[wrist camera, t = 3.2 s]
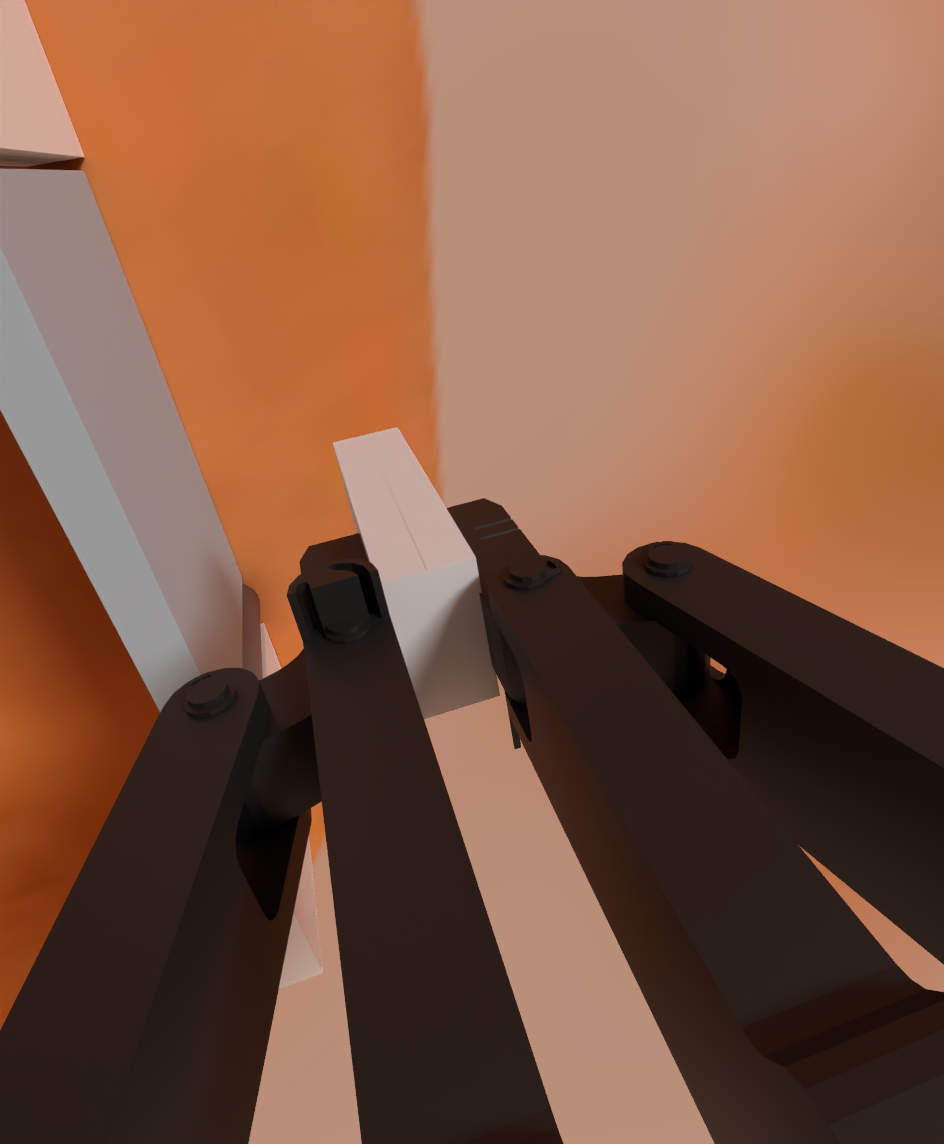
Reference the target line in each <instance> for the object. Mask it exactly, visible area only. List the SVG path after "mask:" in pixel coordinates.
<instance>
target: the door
mask: <svg viewBox="0 0 944 1144" xmlns="http://www.w3.org/2000/svg"><path fill="white" fill-rule="evenodd" d="M0 410H1V412H2V414H3V416H4V418H5V420H6V422H7V424H8V426H9V427H10V429H11V431H12V433H13V435H14V437H15V439H16V441H17V443H18V445H19V446H20V448H21V450H22V452H23V454H24V456H25V458H26V460H27V462H28V463H29V465H30V467H31V469H32V471H33V473H34V475H35V477H36V479H37V480H38V482H39V484H40V486H41V488H42V490H43V492H44V494H45V496H46V497H47V499H48V501H49V503H50V505H51V507H52V509H53V511H54V513H55V514H56V516H57V518H58V520H59V522H60V524H61V526H62V528H63V530H64V532H65V533H66V535H67V537H68V539H69V541H70V543H71V545H72V547H73V549H74V550H75V552H76V554H77V556H78V558H79V560H80V562H81V564H82V566H83V567H84V569H85V571H86V573H87V575H88V577H89V579H90V581H91V583H92V584H93V586H94V588H95V590H96V592H97V594H98V596H99V598H100V600H101V602H102V603H103V605H104V607H105V609H106V611H107V613H108V615H109V617H110V619H111V620H112V622H113V624H114V626H115V628H116V630H117V632H118V634H119V636H120V637H121V639H122V641H123V643H124V645H125V647H126V649H127V651H128V653H129V654H130V656H131V658H132V660H133V662H134V664H135V666H136V668H137V670H138V671H139V673H140V675H141V677H142V679H143V681H144V683H145V685H146V687H147V689H148V690H149V692H150V694H151V696H152V698H153V700H154V702H155V704H156V706H157V707H158V709H159V711H160V712H161V710H162V708H163V707H164V705H165V704H166V702H167V701H168V700H169V698H170V697H171V696H172V694H173V693H174V692H175V691H177V690H178V689H179V688H181V687H182V686H183V685H184V684H186V683H187V682H188V681H190V680H192V679H194V678H196V677H197V676H200V675H202V674H204V673H207V672H211V671H215V670H218V669H222V668H243V669H245V670H248V671H251V672H253V673H254V675H255V676H256V677H257V678H258V680H261V679H263V674H262V651H261V629H260V606H259V598H258V596H257V594H256V592H255V591H254V590H253V589H252V588H250V587H248V586H246V585H244V584H242V576H241V574H240V571H239V568H238V566H237V563H236V561H235V558H234V556H233V553H232V550H231V548H230V545H229V543H228V540H227V538H226V535H225V532H224V530H223V527H222V525H221V522H220V519H219V517H218V514H217V512H216V509H215V507H214V504H213V501H212V499H211V496H210V494H209V491H208V489H207V486H206V483H205V481H204V478H203V476H202V473H201V471H200V468H199V465H198V463H197V460H196V458H195V455H194V453H193V450H192V447H191V445H190V442H189V440H188V437H187V435H186V432H185V429H184V427H183V424H182V422H181V419H180V417H179V414H178V411H177V409H176V406H175V404H174V401H173V399H172V396H171V393H170V391H169V388H168V386H167V383H166V381H165V378H164V375H163V373H162V370H161V368H160V365H159V362H158V360H157V357H156V355H155V352H154V350H153V347H152V344H151V342H150V339H149V337H148V334H147V332H146V329H145V326H144V324H143V321H142V319H141V316H140V314H139V311H138V308H137V306H136V303H135V301H134V298H133V296H132V293H131V290H130V288H129V285H128V283H127V280H126V278H125V275H124V272H123V270H122V267H121V265H120V262H119V260H118V257H117V254H116V252H115V249H114V247H113V244H112V242H111V239H110V236H109V234H108V231H107V229H106V226H105V224H104V221H103V218H102V216H101V213H100V211H99V208H98V205H97V203H96V200H95V198H94V195H93V193H92V190H91V187H90V185H89V182H88V180H87V177H86V175H85V172H84V171H83V170H40V169H0Z"/></svg>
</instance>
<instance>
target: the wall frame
mask: <svg viewBox="0 0 944 1144" xmlns="http://www.w3.org/2000/svg"><path fill="white" fill-rule="evenodd" d="M82 157H85V156H84V154H83V151H82V149H81V146H80V143H79V141H78V138H77V136H76V133H75V130H74V128H73V125H72V123H71V120H70V117H69V115H68V112H67V110H66V107H65V104H64V102H63V99H62V97H61V94H60V91H59V89H58V86H57V84H56V81H55V78H54V76H53V73H52V71H51V68H50V65H49V63H48V60H47V58H46V55H45V52H44V50H43V47H42V45H41V42H40V39H39V37H38V34H37V32H36V29H35V26H34V24H33V21H32V19H31V16H30V13H29V11H28V8H27V6H26V3H25V0H0V166H21V167H28V166H34V165H40V164H46V163H52V162H58V161H64V160H70V159H76V158H82ZM260 629H261V651H262V674H263V678H265V677H267V676H269V675H271V674H273V673H275V672H276V671H278V670H280V669H281V666H280V664H279V661H278V658H277V656H276V653H275V651H274V648H273V645H272V643H271V640H270V638H269V635H268V632H267V630H266V627H265V625H264V623H262V624H260ZM321 973H323V967H322V958H321V948H320V938H319V929H318V919H317V909H316V900H315V890H314V880H313V870H312V861H311V851H310V841H309V837H308V842H307V847H306V852H305V857H304V862H303V867H302V872H301V877H300V882H299V888H298V893H297V898H296V903H295V908H294V913H293V918H292V923H291V928H290V933H289V938H288V944H287V949H286V954H285V959H284V964H283V969H282V974H281V979H280V984H279V989H281V988H283V987H286V986H289V985H292V984H294V983H297V982H300V981H303V980H305V979H308V978H311V977H313V976H316V975H319V974H321Z"/></svg>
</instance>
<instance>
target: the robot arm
mask: <svg viewBox="0 0 944 1144" xmlns="http://www.w3.org/2000/svg"><path fill="white" fill-rule="evenodd" d="M333 446H334V449H335V453H336V457H337V460H338V464H339V468H340V471H341V475H342V479H343V482H344V486H345V490H346V493H347V497H348V501H349V504H350V508H351V512H352V515H353V519H354V523H355V526H356V530H357V534H354V535H350V536H346V537H343V538H339V539H335V540H331V541H327V542H324V543H320V544H316V545H312V546H309V547H308V549H307V550H306V552H305V554H304V555H303V557H302V559H301V560H300V569H301V575H299V576H298V577H297V578H296V579H295V580H294V581H293V582H292V583H291V584H290V586H289V589H288V593H287V597H288V600H289V603H290V606H291V609H292V612H293V614H294V617H295V620H296V623H297V626H298V629H299V631H300V634H301V637H302V640H303V645H304V649H303V650H302V651H301V653H300V654H299V655H298V656H297V657H296V658H295V659H294V660H293V661H291V662H290V663H289V664H288V665H286V666H285V667H283V668H281V669H280V670H278V671H276V672H275V673H273V674H271V675H269V676H267V677H265V678H263V679H261V680H258V678H257V677H256V676H255V675H254V673H253V672H251V671H248V670H245V669H243V668H222V669H218V670H215V671H211V672H207V673H204V674H202V675H200V676H197V677H196V678H194V679H192V680H190V681H188V682H187V683H186V684H184V685H183V686H182V687H181V688H179V689H178V690H177V691H175V692H174V693H173V694H172V696H171V697H170V698H169V700H168V701H167V702H166V704H165V705H164V707H163V708H162V710H161V712H160V714H159V716H158V718H157V720H156V722H155V724H154V726H153V728H152V730H151V732H150V734H149V736H148V738H147V740H146V742H145V744H144V746H143V748H142V750H141V752H140V754H139V756H138V758H137V760H136V762H135V764H134V766H133V768H132V770H131V772H130V774H129V776H128V778H127V780H126V782H125V784H124V786H123V788H122V790H121V792H120V794H119V796H118V798H117V800H116V802H115V804H114V806H113V808H112V810H111V812H110V814H109V816H108V818H107V820H106V822H105V824H104V826H103V828H102V830H101V832H100V834H99V836H98V838H97V840H96V842H95V844H94V846H93V848H92V849H91V851H90V853H89V855H88V857H87V859H86V861H85V863H84V865H83V867H82V869H81V871H80V873H79V875H78V877H77V879H76V881H75V883H74V885H73V887H72V889H71V891H70V893H69V895H68V897H67V899H66V901H65V903H64V905H63V907H62V909H61V911H60V913H59V915H58V917H57V919H56V921H55V923H54V925H53V927H52V929H51V931H50V933H49V935H48V937H47V939H46V941H45V943H44V945H43V947H42V949H41V951H40V953H39V955H38V957H37V959H36V961H35V963H34V965H33V967H32V969H31V971H30V973H29V975H28V977H27V979H26V981H25V983H24V985H23V987H22V989H21V991H20V992H19V994H18V996H17V998H16V1000H15V1002H14V1004H13V1006H12V1008H11V1010H10V1012H9V1014H8V1016H7V1018H6V1020H5V1022H4V1024H3V1026H2V1028H1V1030H0V1144H248V1142H249V1137H250V1132H251V1126H252V1122H253V1117H254V1112H255V1106H256V1102H257V1096H258V1091H259V1086H260V1081H261V1075H262V1071H263V1066H264V1060H265V1056H266V1051H267V1045H268V1040H269V1035H270V1030H271V1025H272V1020H273V1015H274V1010H275V1005H276V999H277V995H278V989H279V984H280V979H281V974H282V969H283V964H284V959H285V954H286V949H287V944H288V938H289V933H290V928H291V923H292V918H293V913H294V908H295V903H296V898H297V893H298V888H299V882H300V877H301V872H302V867H303V862H304V857H305V852H306V847H307V842H308V837H309V831H310V826H311V821H312V819H311V807H313V806H315V805H316V804H318V803H320V802H321V801H322V807H323V816H324V824H325V833H326V841H327V850H328V858H329V867H330V876H331V884H332V893H333V900H334V910H335V918H336V927H337V935H338V944H339V951H340V961H341V969H342V978H343V985H344V995H345V1003H346V1012H347V1020H348V1029H349V1038H350V1046H351V1054H352V1063H353V1072H354V1079H355V1089H356V1096H357V1106H358V1114H359V1122H360V1131H361V1140H362V1144H563V1141H562V1139H561V1136H560V1133H559V1131H558V1128H557V1125H556V1122H555V1119H554V1116H553V1113H552V1110H551V1107H550V1104H549V1101H548V1098H547V1095H546V1092H545V1089H544V1086H543V1083H542V1080H541V1077H540V1073H539V1071H538V1068H537V1064H536V1061H535V1058H534V1055H533V1052H532V1049H531V1046H530V1043H529V1040H528V1037H527V1034H526V1031H525V1028H524V1024H523V1022H522V1019H521V1015H520V1012H519V1010H518V1006H517V1003H516V1000H515V997H514V994H513V991H512V988H511V985H510V982H509V979H508V976H507V973H506V969H505V966H504V963H503V960H502V957H501V954H500V951H499V948H498V945H497V942H496V939H495V936H494V933H493V930H492V927H491V924H490V921H489V917H488V915H487V911H486V908H485V905H484V902H483V899H482V896H481V893H480V890H479V887H478V884H477V881H476V878H475V875H474V872H473V869H472V865H471V863H470V859H469V856H468V853H467V850H466V847H465V844H464V842H463V838H462V835H461V832H460V829H459V826H458V823H457V820H456V816H455V813H454V810H453V807H452V804H451V801H450V798H449V795H448V792H447V789H446V786H445V783H444V780H443V777H442V774H441V771H440V767H439V764H438V762H437V758H436V755H435V752H434V749H433V746H432V743H431V740H430V737H429V734H428V731H427V728H426V725H425V721H424V719H426V718H429V717H432V716H435V715H439V714H442V713H445V712H448V711H451V710H455V709H458V708H461V707H464V706H468V705H471V704H474V703H477V702H480V701H484V700H487V699H490V698H494V697H496V696H499V695H500V693H499V687H498V682H497V676H498V678H499V680H500V682H501V684H502V686H503V688H504V690H505V695H506V701H507V707H508V712H509V719H510V725H511V731H512V736H513V743H514V748H515V749H517V748H520V747H521V743H520V739H521V742H522V744H523V746H524V748H525V750H526V752H527V754H528V756H529V758H530V760H531V762H532V764H533V766H534V769H535V771H536V773H537V775H538V777H539V779H540V781H541V783H542V785H543V787H544V789H545V791H546V794H547V796H548V797H549V800H550V802H551V804H552V806H553V808H554V810H555V812H556V814H557V816H558V819H559V820H560V823H561V825H562V827H563V829H564V831H565V833H566V835H567V837H568V839H569V841H570V843H571V845H572V848H573V850H574V852H575V854H576V856H577V858H578V860H579V862H580V864H581V866H582V868H583V871H584V872H585V875H586V877H587V879H588V881H589V883H590V885H591V887H592V889H593V891H594V893H595V895H596V898H597V900H598V902H599V904H600V906H601V908H602V910H603V912H604V914H605V916H606V918H607V920H608V922H609V925H610V927H611V929H612V931H613V933H614V935H615V937H616V939H617V941H618V943H619V945H620V948H621V950H622V951H623V954H624V956H625V958H626V960H627V962H628V964H629V966H630V968H631V970H632V973H633V975H634V977H635V979H636V981H637V983H638V985H639V987H640V989H641V991H642V993H643V995H644V997H645V1000H646V1002H647V1004H648V1006H649V1008H650V1010H651V1012H652V1014H653V1016H654V1018H655V1020H656V1022H657V1024H658V1026H659V1029H660V1031H661V1033H662V1035H663V1037H664V1039H665V1041H666V1043H667V1045H668V1047H669V1049H670V1052H671V1054H672V1056H673V1058H674V1060H675V1062H676V1064H677V1066H678V1068H679V1070H680V1072H681V1074H682V1077H683V1078H684V1081H685V1083H686V1085H687V1087H688V1089H689V1091H690V1093H691V1095H692V1097H693V1099H694V1101H695V1104H696V1105H697V1108H698V1110H699V1112H700V1114H701V1116H702V1118H703V1120H704V1122H705V1124H706V1126H707V1128H708V1131H709V1133H710V1135H711V1137H712V1139H713V1141H714V1143H715V1144H944V992H939V991H933V990H927V989H925V988H923V987H922V986H920V985H919V984H917V983H915V982H914V981H913V980H911V979H910V978H909V977H908V976H907V975H906V974H905V973H904V972H903V971H902V970H901V969H900V968H899V966H897V964H896V963H895V962H894V961H893V959H892V958H891V957H890V956H889V955H888V953H887V952H886V951H885V950H884V949H883V947H882V946H881V945H880V944H879V942H878V941H877V940H876V939H875V938H874V937H873V935H872V934H871V933H870V932H869V930H868V929H867V928H866V927H865V926H864V924H863V923H862V922H861V921H860V919H859V918H858V917H857V916H856V915H855V913H854V912H853V911H852V910H851V909H850V907H849V906H848V905H847V904H846V902H845V901H844V900H843V899H842V898H841V897H840V895H839V894H838V893H837V892H836V890H835V889H834V888H833V887H832V885H831V884H830V883H829V882H828V881H827V880H826V878H825V877H824V876H823V875H822V873H821V872H820V871H819V870H818V869H817V868H816V866H815V865H814V864H813V862H812V861H811V860H810V859H809V858H808V856H807V855H806V854H805V853H804V852H803V850H802V849H801V848H800V847H802V848H803V849H804V850H805V851H806V852H808V853H809V854H810V855H811V856H813V857H814V858H815V859H816V860H817V861H819V862H820V863H821V864H822V865H823V866H825V867H826V868H827V869H828V870H830V871H831V872H832V873H833V874H834V875H836V876H837V877H838V878H839V879H841V880H842V881H843V882H844V883H846V884H847V885H848V886H849V887H850V888H851V889H853V890H854V891H855V892H856V893H858V894H859V895H860V896H861V897H862V898H864V899H865V900H866V901H867V902H868V903H870V904H871V905H872V906H873V907H875V908H876V909H877V910H878V911H880V912H881V913H882V914H883V915H884V916H886V917H887V918H888V919H889V920H890V921H892V922H893V923H894V924H895V925H896V926H898V927H899V928H900V929H901V930H902V931H904V932H905V933H906V934H907V935H909V936H910V937H911V938H912V939H913V940H915V941H916V942H917V943H918V944H919V945H921V946H922V947H923V948H924V949H926V950H927V951H928V952H929V953H930V954H932V955H933V956H934V957H935V958H937V959H938V960H939V961H940V962H941V963H943V964H944V668H942V667H940V666H938V665H936V664H934V663H932V662H930V661H928V660H926V659H924V658H922V657H920V656H918V655H916V654H914V653H912V652H910V651H908V650H906V649H904V648H902V647H899V646H897V645H895V644H893V643H891V642H889V641H887V640H885V639H883V638H881V637H879V636H877V635H875V634H873V633H871V632H869V631H867V630H865V629H863V628H861V627H859V626H857V625H855V624H853V623H851V622H849V621H847V620H845V619H843V618H841V617H839V616H837V615H835V614H833V613H831V612H829V611H827V610H825V609H823V608H821V607H819V606H816V605H815V604H813V603H811V602H808V601H806V600H804V599H802V598H800V597H798V596H796V595H794V594H792V593H790V592H788V591H786V590H784V589H782V588H780V587H778V586H776V585H774V584H772V583H770V582H768V581H766V580H764V579H762V578H760V577H758V576H756V575H754V574H752V573H750V572H748V571H746V570H744V569H742V568H740V567H738V566H736V565H734V564H732V563H730V562H727V561H725V560H723V559H721V558H719V557H717V556H715V555H713V554H711V553H709V552H707V551H705V550H703V549H701V548H699V547H696V546H692V545H690V544H686V543H679V542H672V541H663V542H655V543H651V544H648V545H645V546H641V547H638V548H636V549H635V550H633V551H632V552H630V553H629V554H627V556H626V558H625V559H624V561H623V563H622V566H623V575H612V576H602V577H579V576H576V575H575V574H574V573H573V571H572V570H571V569H570V568H569V567H568V566H567V565H566V564H565V563H563V562H562V561H561V560H559V559H556V558H553V557H549V556H545V555H540V554H539V553H538V552H537V550H536V549H535V548H534V547H533V545H532V544H531V543H530V542H529V540H528V539H527V538H526V536H525V535H524V534H523V533H522V531H521V530H520V529H518V526H517V525H516V524H515V522H514V521H513V520H511V517H510V516H509V515H508V513H507V512H506V511H505V509H504V508H503V507H502V506H501V505H498V504H496V503H494V502H491V501H489V500H487V499H484V498H483V499H480V500H476V501H472V502H468V503H464V504H460V505H457V506H453V507H449V508H446V507H445V505H444V504H443V502H442V500H441V499H440V497H439V495H438V494H437V492H436V490H435V489H434V487H433V485H432V484H431V482H430V480H429V479H428V477H427V475H426V474H425V472H424V470H423V469H422V467H421V465H420V464H419V462H418V460H417V459H416V457H415V455H414V454H413V452H412V450H411V449H410V447H409V446H408V444H407V442H406V441H405V439H404V437H403V436H402V434H401V432H400V431H399V429H398V427H396V428H391V429H387V430H383V431H379V432H375V433H371V434H367V435H362V436H358V437H354V438H350V439H346V440H342V441H338V442H333ZM710 658H712V659H714V660H715V661H717V662H718V663H720V664H721V665H723V666H724V667H725V668H726V669H727V671H726V674H724V673H722V672H720V671H718V670H717V669H715V668H714V667H712V666H711V665H710ZM496 674H497V676H496ZM799 846H800V847H799Z"/></svg>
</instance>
